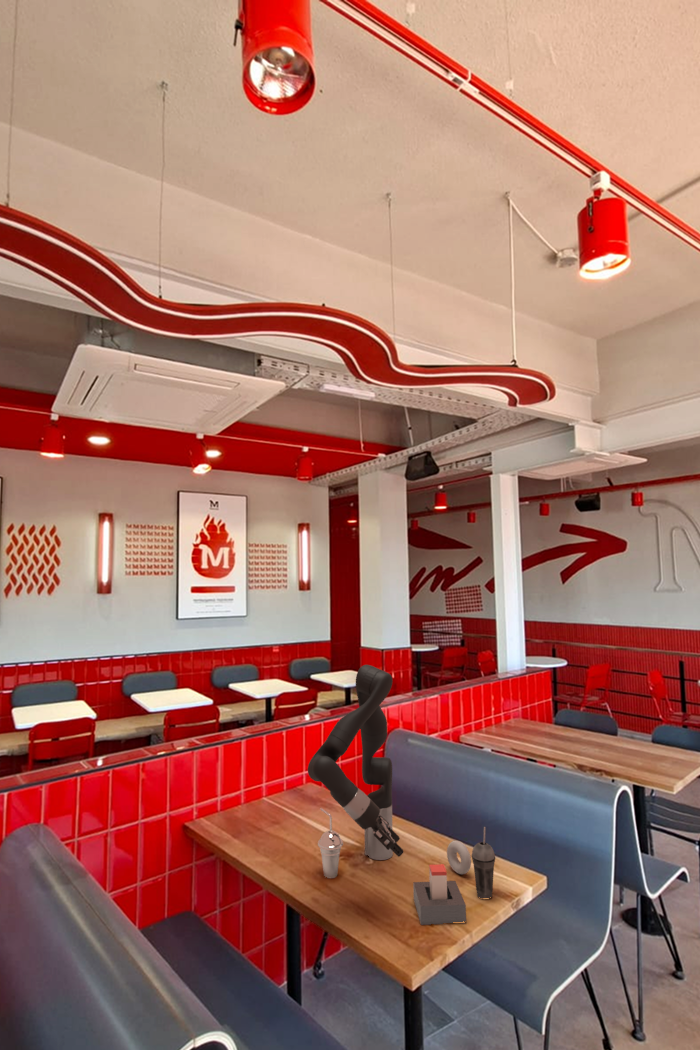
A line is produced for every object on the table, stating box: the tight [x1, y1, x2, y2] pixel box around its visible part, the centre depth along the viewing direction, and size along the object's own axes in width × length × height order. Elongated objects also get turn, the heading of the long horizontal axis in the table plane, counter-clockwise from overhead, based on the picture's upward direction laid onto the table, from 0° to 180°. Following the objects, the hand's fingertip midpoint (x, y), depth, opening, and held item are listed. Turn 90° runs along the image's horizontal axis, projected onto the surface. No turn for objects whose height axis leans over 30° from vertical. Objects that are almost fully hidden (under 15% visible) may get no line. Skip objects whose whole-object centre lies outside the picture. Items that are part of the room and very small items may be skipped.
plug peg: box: [428, 863, 448, 900], centre depth 169 cm, size 4×4×12 cm
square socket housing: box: [412, 880, 467, 926], centre depth 169 cm, size 13×13×5 cm
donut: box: [446, 840, 472, 875], centre depth 191 cm, size 10×4×10 cm, turn 34°
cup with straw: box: [317, 807, 344, 879], centre depth 191 cm, size 8×9×20 cm
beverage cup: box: [471, 826, 496, 899], centre depth 177 cm, size 7×7×20 cm
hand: (399, 847), depth 170 cm, fingers open, 8 cm apart
